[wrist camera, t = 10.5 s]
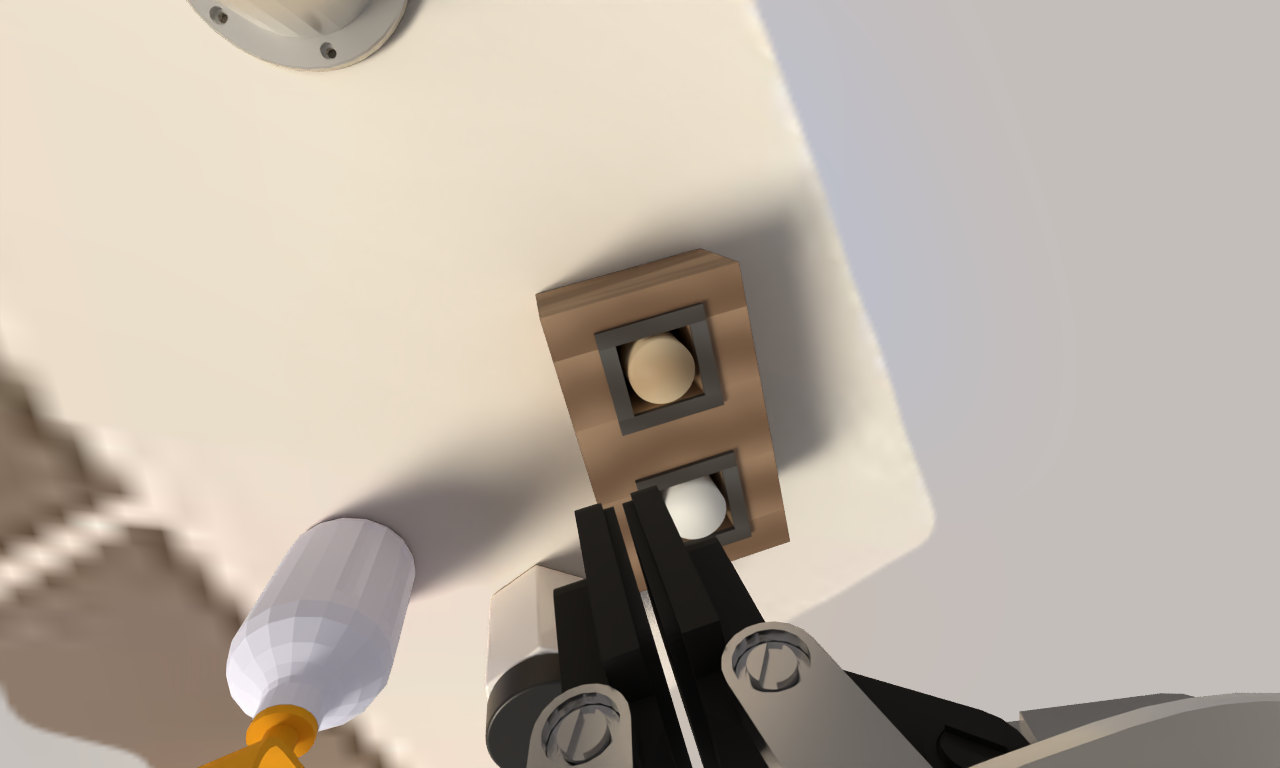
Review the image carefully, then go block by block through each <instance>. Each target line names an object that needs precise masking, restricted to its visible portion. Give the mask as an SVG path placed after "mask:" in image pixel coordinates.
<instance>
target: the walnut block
mask: <svg viewBox="0 0 1280 768" xmlns="http://www.w3.org/2000/svg"><path fill="white" fill-rule="evenodd" d="M536 300H537V306H538V312H539V317H540V321H541V324H542V328H543V331H544V334H545V337H546V340H547V344H548V347H549V350H550V353H551V357H552V360H553V363H554V366H555V369H556V373H557V376H558V379H559V382H560V385H561V389H562V392H563V395H564V398H565V401H566V405H567V408H568V411H569V414H570V418H571V421H572V424H573V427H574V430H575V434H576V437H577V440H578V443H579V446H580V450H581V453H582V456H583V459H584V462H585V466H586V469H587V472H588V475H589V479H590V482H591V485H592V488H593V491H594V495H595V498H596V501H597V504H598V503H601V504H602V507H603V509H606V508H609V507H613V506H614V509H615V513H616V516H617V519H618V523H619V526H620V529H621V533H622V536H623V539H624V542H625V546H626V549H627V552H628V556H629V559H630V562H631V566H632V569H633V572H634V576H635V579H636V582H637V585H638V589H639V592H642V591H645V590H647V587H646V584H645V580H644V577H643V573H642V570H641V567H640V563H639V560H638V556H637V553H636V550H635V546H634V543H633V539H632V536H631V533H630V529H629V526H628V522H627V519H626V516H625V512H624V509H623V505H622V503H625V502H628V501H631V500H632V499H631V495H630V493H632V492H635V491H638V490H642V489H645V488H648V487H651V486H654V485H657V487H658V489H659V491H660V490H663V489H666V488H669V487H672V486H675V485H678V484H682V483H685V482H688V481H691V480H694V479H697V478H700V477H703V476H707V475H709V476H710V477H711V479H712V480H713V482H714V484H715V485H716V487H717V488H718V490H719V491H720V493H721V494H722V496H723V497H724V499H725V502H726V514H725V518H724V520H723V522H722V524H721V525H720V526H719V527H718V528H717V530H715V531H714V532H713V533H711V534H710V535H708V536H706V537H703V538H700V539H686V538H682V537H681V539H682V541H683V543H684V545H688V544H691V543H694V542H697V541H700V540H703V539H706V538H709V537H712V536H715V537H717V539H718V540H719V542H720V544H721V545H722V547H723V549H724V551H725V552H726V554H727V556H728V558H729V559H730V561H733V560H736V559H739V558H742V557H745V556H748V555H751V554H754V553H757V552H760V551H763V550H766V549H769V548H772V547H775V546H778V545H781V544H784V543H787V542H790V538H789V533H788V527H787V522H786V516H785V511H784V506H783V500H782V495H781V489H780V484H779V478H778V473H777V467H776V462H775V457H774V451H773V446H772V440H771V435H770V429H769V424H768V419H767V413H766V408H765V402H764V397H763V391H762V386H761V380H760V375H759V370H758V364H757V359H756V353H755V348H754V342H753V337H752V332H751V326H750V321H749V315H748V310H747V304H746V299H745V293H744V288H743V283H742V277H741V272H740V266H739V262H737V261H734V260H732V259H729V258H726V257H723V256H720V255H717V254H714V253H712V252H709V251H706V250H703V249H696V250H693V251H689V252H685V253H682V254H678V255H675V256H671V257H668V258H664V259H660V260H657V261H653V262H650V263H646V264H643V265H639V266H635V267H632V268H628V269H625V270H621V271H618V272H614V273H611V274H607V275H603V276H600V277H596V278H593V279H589V280H586V281H582V282H578V283H575V284H571V285H568V286H564V287H561V288H557V289H553V290H550V291H546V292H543V293H539V294H536ZM667 331H669V332H670V333H671V334H672V335H673V336H674V337H675V338H676V339H677V340H678V341H679V342H680V343H681V344H683V345H684V346H685V347H686V348H687V350H688V351H689V352H690V354H691V355H692V357H693V360H694V364H695V375H694V379H693V382H692V384H691V386H690V388H689V389H688V390H687V392H686V393H685V394H684V395H683V396H681V397H680V398H678V399H677V400H675V401H672V402H670V403H665V404H655V403H651V402H648V401H646V400H644V399H642V398H641V397H640V396H639V395H638V394H637V393H636V392H635V391H634V389H633V387H632V386H631V384H630V382H629V380H628V379H627V377H626V375H625V373H622V369H621V365H620V361H619V358H618V354H617V350H616V347H615V346H619V345H622V344H626V343H629V342H632V341H636V340H639V339H643V338H646V337H649V336H653V335H656V334H660V333H663V332H667Z"/></svg>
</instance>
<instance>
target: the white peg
mask: <svg viewBox="0 0 1280 768" xmlns="http://www.w3.org/2000/svg"><path fill="white" fill-rule="evenodd" d="M660 494H661V496H662V498H663V500H664V502H665V504H666V506H667V509H668V511H669V513H670V515H671V517H672V519H673V521H674V524H675V526H676V528H677V530H678V532H679V534H680V536H681V537H682V538H686V539H700V538H703V537H706V536H708V535H710V534H711V533H713V532H714V531H715V530H717V528H718V527H719V526H720V525H721V524H722V522H723V520H724V518H725V514H726V502H725V499H724V497H723V496H722V494H721V493H720V491H719V490H718V488H717V487H716V485H715V484H714V482H713V480H712V479H711V477H710V476H709V475H707V476H703V477H700V478H697V479H694V480H691V481H688V482H685V483H682V484H678V485H675V486H672V487H669V488H666V489H663V490H660Z"/></svg>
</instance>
